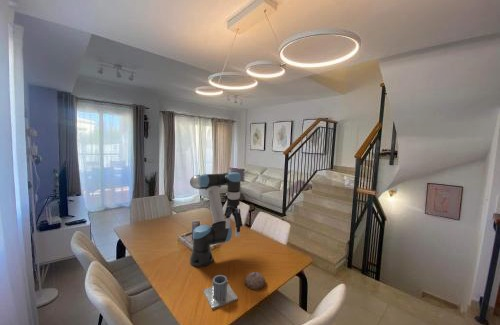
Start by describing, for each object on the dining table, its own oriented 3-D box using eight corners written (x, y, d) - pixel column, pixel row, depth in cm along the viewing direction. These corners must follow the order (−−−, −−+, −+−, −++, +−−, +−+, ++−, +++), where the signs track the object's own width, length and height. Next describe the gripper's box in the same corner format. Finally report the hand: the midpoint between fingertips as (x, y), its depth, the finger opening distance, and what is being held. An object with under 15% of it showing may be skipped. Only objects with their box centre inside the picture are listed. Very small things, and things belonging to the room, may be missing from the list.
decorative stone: (241, 287, 116) (242, 278, 116) (248, 274, 128) (248, 266, 127) (261, 292, 113) (262, 283, 112) (266, 279, 124) (267, 270, 124)
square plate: (203, 291, 112) (203, 281, 111) (226, 283, 119) (227, 273, 118) (212, 309, 100) (212, 298, 99) (237, 299, 107) (238, 288, 106)
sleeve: (211, 298, 105) (211, 284, 105) (213, 288, 113) (214, 274, 112) (226, 299, 105) (227, 284, 105) (228, 288, 113) (228, 275, 112)
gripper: (219, 193, 132) (218, 225, 134) (237, 204, 111) (236, 242, 113) (230, 192, 136) (229, 223, 138) (249, 203, 114) (247, 239, 116)
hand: (232, 232), depth 125 cm, fingers open, 13 cm apart
